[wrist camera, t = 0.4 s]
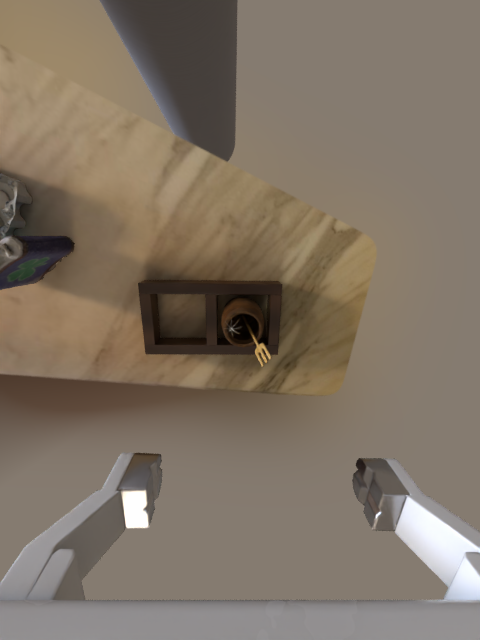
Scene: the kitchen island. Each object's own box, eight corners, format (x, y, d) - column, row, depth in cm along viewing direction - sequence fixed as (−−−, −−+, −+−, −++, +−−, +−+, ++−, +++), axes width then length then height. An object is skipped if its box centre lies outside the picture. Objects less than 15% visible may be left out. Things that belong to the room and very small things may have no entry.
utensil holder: (239, 287, 37) (242, 307, 26) (270, 313, 39) (285, 343, 27) (214, 316, 38) (205, 347, 27) (245, 341, 40) (249, 380, 28)
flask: (34, 286, 36) (-44, 303, 26) (18, 270, 36) (-69, 280, 26) (79, 247, 35) (15, 248, 25) (63, 229, 34) (-10, 223, 24)
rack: (145, 279, 37) (137, 282, 34) (278, 281, 37) (282, 284, 34) (151, 346, 40) (145, 354, 37) (274, 346, 40) (277, 354, 37)
